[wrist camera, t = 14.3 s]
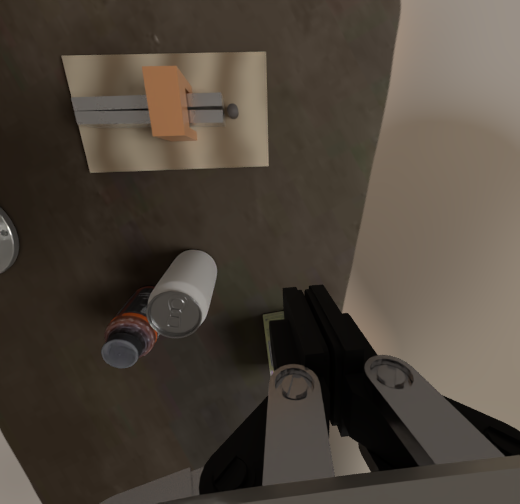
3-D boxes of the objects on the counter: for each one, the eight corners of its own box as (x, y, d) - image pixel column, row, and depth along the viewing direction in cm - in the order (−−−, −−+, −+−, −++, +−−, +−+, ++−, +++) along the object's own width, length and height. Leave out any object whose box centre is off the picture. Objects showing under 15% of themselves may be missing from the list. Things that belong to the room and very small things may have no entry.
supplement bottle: (134, 318, 40) (94, 375, 29) (130, 283, 38) (86, 331, 27) (173, 319, 40) (148, 376, 30) (172, 285, 38) (144, 333, 28)
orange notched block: (191, 86, 29) (176, 65, 23) (197, 140, 31) (184, 135, 24) (164, 87, 29) (141, 66, 22) (172, 141, 31) (152, 136, 24)
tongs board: (265, 55, 29) (267, 41, 26) (267, 165, 33) (270, 166, 30) (67, 59, 28) (44, 45, 25) (94, 172, 33) (77, 173, 29)
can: (222, 254, 37) (211, 295, 26) (212, 293, 39) (199, 346, 28) (176, 243, 36) (146, 281, 25) (169, 283, 38) (138, 335, 27)
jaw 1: (223, 99, 29) (221, 92, 26) (224, 111, 30) (222, 105, 27) (90, 104, 29) (70, 97, 26) (92, 116, 29) (74, 110, 26)
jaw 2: (224, 115, 30) (222, 109, 27) (225, 126, 30) (223, 122, 27) (92, 116, 29) (74, 111, 26) (95, 128, 30) (77, 124, 27)
